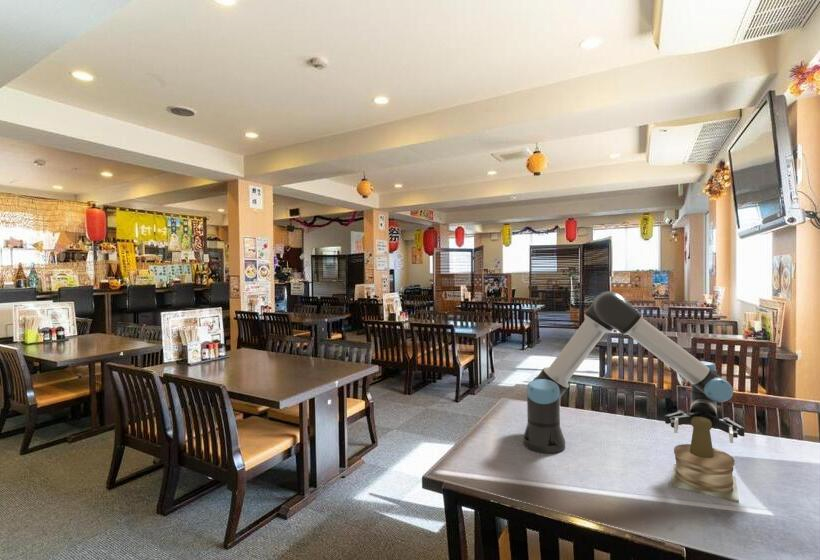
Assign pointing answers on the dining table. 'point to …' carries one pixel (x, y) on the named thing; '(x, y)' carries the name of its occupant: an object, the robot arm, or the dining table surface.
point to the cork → (701, 438)
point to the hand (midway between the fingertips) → (702, 433)
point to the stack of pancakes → (705, 473)
